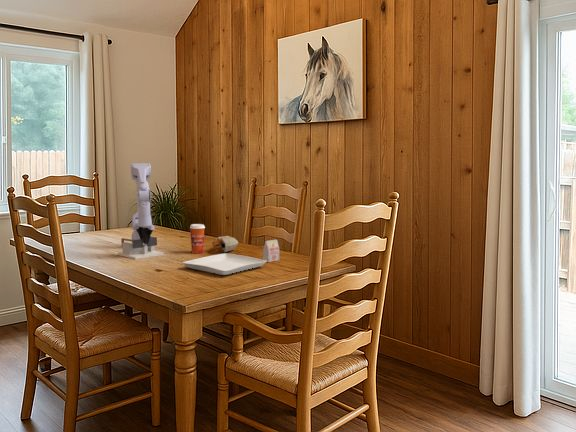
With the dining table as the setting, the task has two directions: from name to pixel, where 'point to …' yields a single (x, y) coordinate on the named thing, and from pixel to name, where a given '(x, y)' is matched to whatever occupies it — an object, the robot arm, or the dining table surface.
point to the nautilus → (224, 244)
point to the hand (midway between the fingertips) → (144, 243)
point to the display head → (138, 251)
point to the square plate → (224, 263)
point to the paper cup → (197, 238)
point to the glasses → (141, 242)
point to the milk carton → (271, 251)
